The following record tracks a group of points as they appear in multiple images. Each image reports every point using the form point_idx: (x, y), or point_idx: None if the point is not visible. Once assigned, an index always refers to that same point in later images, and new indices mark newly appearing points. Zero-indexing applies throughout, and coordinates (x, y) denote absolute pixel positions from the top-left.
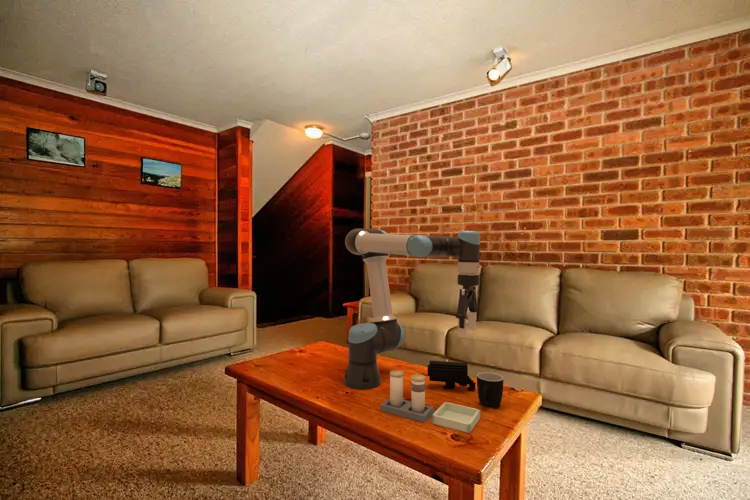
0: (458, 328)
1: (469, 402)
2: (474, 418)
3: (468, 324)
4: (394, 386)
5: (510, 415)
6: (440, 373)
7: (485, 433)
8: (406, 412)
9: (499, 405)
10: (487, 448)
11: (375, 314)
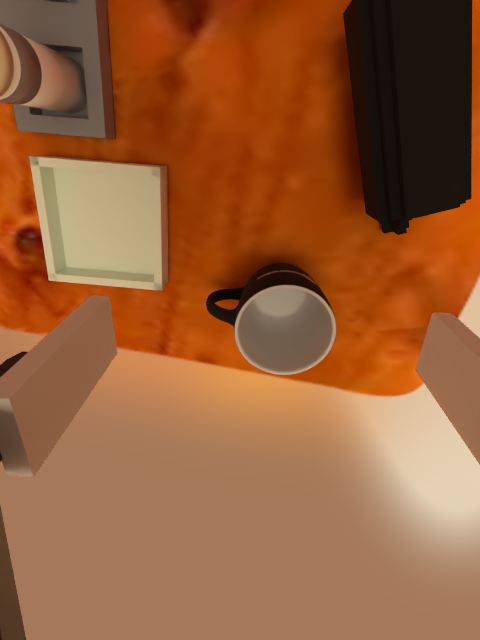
0: (55, 331)
1: (271, 229)
2: (96, 284)
3: (453, 340)
4: None
5: (233, 347)
6: (358, 76)
7: None
8: None
9: (269, 321)
10: (32, 317)
11: None
